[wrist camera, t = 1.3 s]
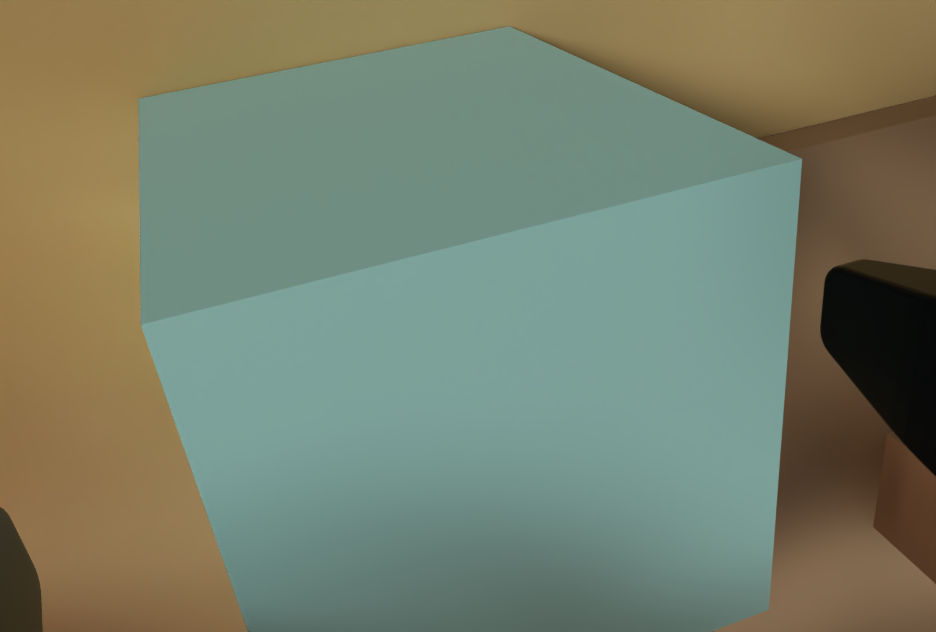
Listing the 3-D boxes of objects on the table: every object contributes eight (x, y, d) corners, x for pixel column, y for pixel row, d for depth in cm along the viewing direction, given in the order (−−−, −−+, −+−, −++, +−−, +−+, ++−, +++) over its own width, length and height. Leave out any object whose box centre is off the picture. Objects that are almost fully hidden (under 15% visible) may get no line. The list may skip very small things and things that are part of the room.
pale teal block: (538, 335, 15) (769, 609, 10) (236, 419, 14) (302, 786, 8) (509, 25, 13) (802, 158, 7) (138, 98, 11) (141, 324, 6)
